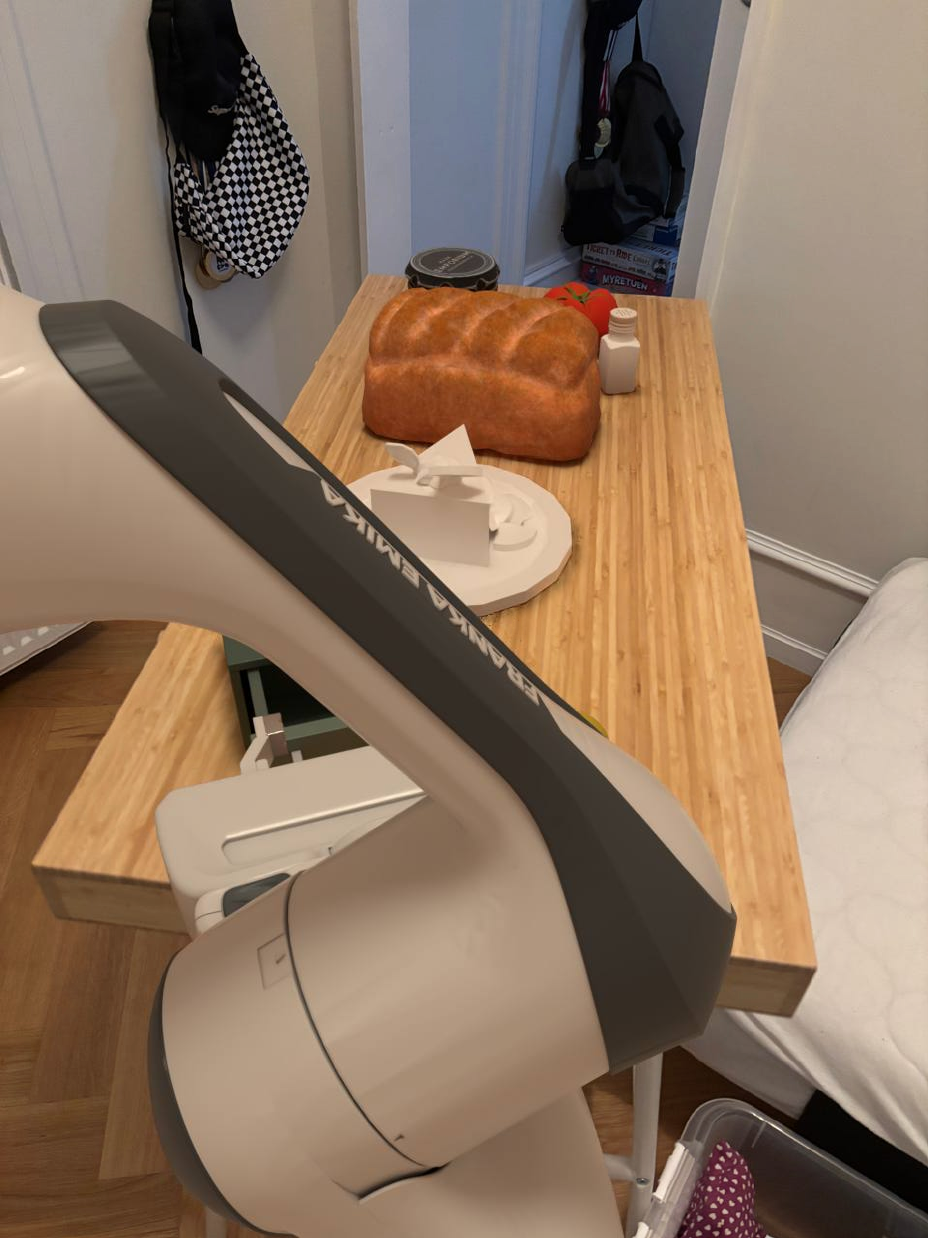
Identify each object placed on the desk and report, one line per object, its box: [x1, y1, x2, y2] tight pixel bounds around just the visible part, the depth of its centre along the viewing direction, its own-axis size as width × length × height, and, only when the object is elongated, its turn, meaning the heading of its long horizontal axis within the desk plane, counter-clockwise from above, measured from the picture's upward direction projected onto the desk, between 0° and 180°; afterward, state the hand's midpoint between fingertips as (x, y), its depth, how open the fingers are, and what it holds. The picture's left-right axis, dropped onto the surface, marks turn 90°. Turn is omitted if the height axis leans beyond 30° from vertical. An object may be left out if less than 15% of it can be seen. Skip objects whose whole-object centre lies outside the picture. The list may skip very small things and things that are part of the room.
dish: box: [345, 424, 573, 618], centre depth 87 cm, size 25×25×11 cm
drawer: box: [246, 664, 370, 768], centre depth 65 cm, size 16×10×7 cm, turn 18°
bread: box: [361, 287, 602, 462], centre depth 103 cm, size 14×26×16 cm, turn 74°
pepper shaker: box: [597, 307, 641, 395], centre depth 113 cm, size 4×4×10 cm
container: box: [404, 246, 502, 292], centre depth 126 cm, size 13×13×10 cm
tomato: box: [543, 281, 619, 351], centre depth 123 cm, size 11×11×8 cm
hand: (341, 707), depth 51 cm, fingers open, 7 cm apart
